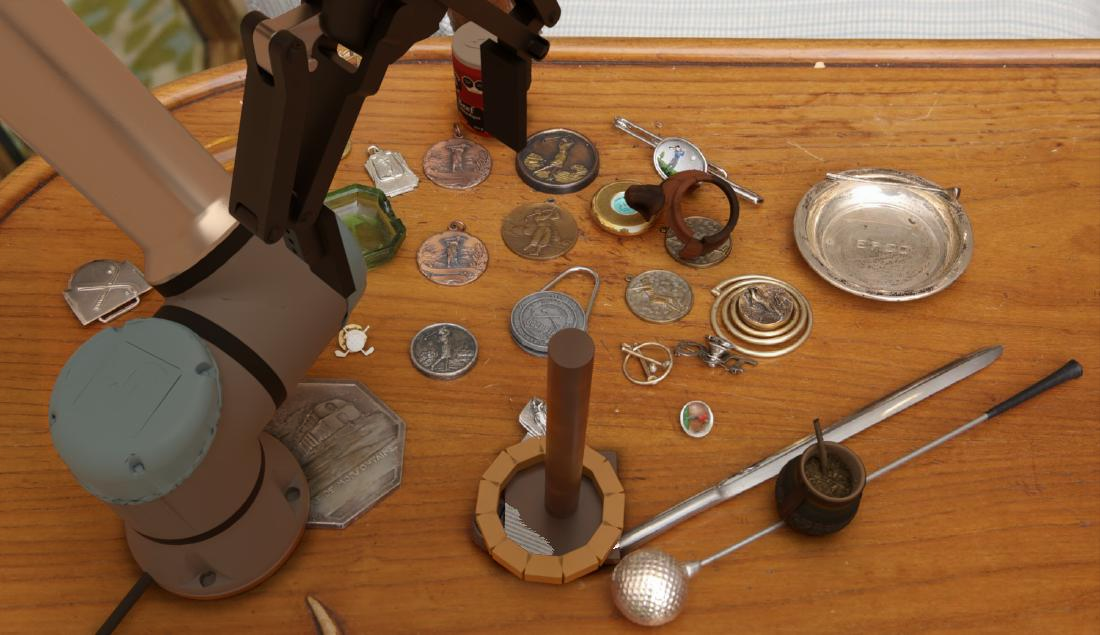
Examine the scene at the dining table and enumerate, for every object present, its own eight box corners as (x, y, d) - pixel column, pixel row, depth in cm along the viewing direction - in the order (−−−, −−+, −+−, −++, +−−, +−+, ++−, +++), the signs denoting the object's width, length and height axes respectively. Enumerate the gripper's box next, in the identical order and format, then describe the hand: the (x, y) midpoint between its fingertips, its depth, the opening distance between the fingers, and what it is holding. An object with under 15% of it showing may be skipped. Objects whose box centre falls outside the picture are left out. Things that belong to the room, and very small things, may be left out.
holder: (503, 563, 79) (488, 418, 55) (506, 455, 84) (495, 281, 61) (619, 564, 79) (654, 420, 55) (615, 457, 84) (646, 283, 61)
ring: (568, 613, 75) (568, 607, 74) (448, 526, 79) (446, 519, 77) (650, 495, 81) (652, 487, 79) (534, 419, 85) (534, 410, 83)
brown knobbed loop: (716, 186, 103) (750, 169, 95) (709, 270, 101) (744, 259, 94) (614, 169, 100) (641, 150, 92) (607, 255, 99) (633, 243, 91)
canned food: (451, 99, 109) (443, 24, 99) (515, 86, 110) (513, 11, 101) (467, 145, 105) (460, 72, 95) (534, 131, 106) (534, 57, 97)
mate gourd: (802, 561, 79) (834, 520, 71) (749, 489, 83) (773, 443, 74) (866, 520, 81) (904, 476, 73) (811, 452, 85) (841, 403, 76)
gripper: (148, 59, 27) (299, 394, 45) (657, -257, 37) (614, 117, 55) (4, -49, 29) (201, 309, 47) (519, -318, 40) (521, 59, 58)
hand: (424, 206), depth 51 cm, fingers open, 13 cm apart
